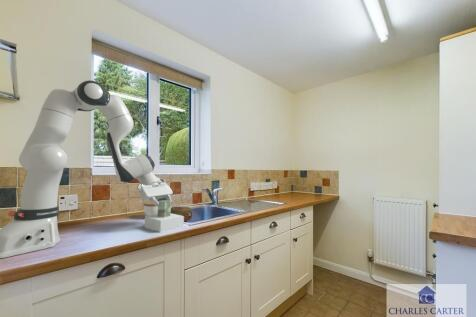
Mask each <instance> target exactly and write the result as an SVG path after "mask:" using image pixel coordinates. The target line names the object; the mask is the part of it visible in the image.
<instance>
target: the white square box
mask: <svg viewBox="0 0 476 317" xmlns="http://www.w3.org/2000/svg"><path fill="white" fill-rule="evenodd" d="M184 223H185V222H184V216H181V215H176V214H172V213H171V215H170V216H168V217H165V218H164V217H158V214H157V215H151V216H146V215H145V216H144V228H145V229H148V230H151V231H154V232H157V231H158V233H163V231H165V232H168V231H167V230H169V231H172V230H171V229H173V230H176V228H177V229H180V227H181V228H184V227H185V226H184Z"/></svg>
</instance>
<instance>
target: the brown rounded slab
mask: <svg viewBox="0 0 476 317" xmlns="http://www.w3.org/2000/svg"><path fill="white" fill-rule="evenodd" d="M171 213H172V214H176V215H181V216H184V223H186V222H189V221H191V220H192V219H193V217H194V210H193V209H192V208H191V207H189V206H179V205H177V206H171Z"/></svg>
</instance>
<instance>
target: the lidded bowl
mask: <svg viewBox="0 0 476 317" xmlns="http://www.w3.org/2000/svg"><path fill="white" fill-rule="evenodd" d="M143 212H144V215H145V216H151V215H157V214H158V206H156V205H155V204H154V203H153V202H151V201H150V200H149V201H144V202H143Z"/></svg>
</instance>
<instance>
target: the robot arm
mask: <svg viewBox="0 0 476 317" xmlns="http://www.w3.org/2000/svg"><path fill="white" fill-rule="evenodd" d="M94 110H98V111H100V113H102V115H104V117H105V120H106V121H107V124H108V132H107V133H106V141H107V144H108V149H109V151H110V152H109V153H110V154H111V159H112V162H113V165H114V171H115V176H116V177H117V179H118V180H119V181H120V182H122V183H126V184H127V183H131V182H132V181H134V180H135V179H136V180H137V181H138V182H139V184H138V185H137V187H136V188H137V190H138V194H139V196H140V197H141V199H142V201H144V202H150V201H151V202H153V203H154V204H155V205H156V206H158V205H160V202H159V201H160V200H159V199H165V200H169V201H171V203H172V202H173V200H172V199H171V198H172V197H171V196H173V193H174V192H173V190H172V188H171V187H170V186H169V185H168V184H167V183H166V180H165V179H163V178H160V177H158V176H156V175H155V174H154V173H153V172H154V169H155V161H154V160H153V159H152V157H151V156H150V155H148V154H145V153H144V154H141V155H138V156H136V157H134V158H131V159H129V160H127V161H124V160H123V156H122V153H121V150H120V143H121V142H122V140H123V139H124V138H126V137H127V136H128V135H130V133H131V132H132V130H133V129H134V120H133V117H132V114H131V113H130V111H129V108H128V107H127V106H126V104H125V103H124V101H123V100H122V99H121V98H120V96H118V95H117V94H110V92H109V91H108V90H107V89H106V88H105V87H104V86H103V85H102V84H100V83H99V82H97V81H95V80H91V79H90V80H84V81H82V82H80V83H79V85H78V86H77V87H76V88H74V90H72V91H68V90H67V89H63V88H55V89H53V90H51V91H50V92H49V94H48V95H47V97H46V98H45V100H44V102H43V104H42V107H41V109H40V112H39V115H38V117H37V120H36V123H35V126H34V128H33V129H32V132H31V133H30V135H29V136H28V139H27V141H26V142H25V145H24V147H23V149H22V150H21V153H20V155H19V157H18V162H19V164H20V166H21V167H22V168H23V169H24V170H26V176H25V179H24V183H23V186H22V188H21V199H20V208H19V209H18V210H16V211H15V210H9V211H8V212H7V216H9V217H13V220H12V221H10V222H8V223H7V224H5V225H4V226H3V227H1V228H0V259H3V258H4V259H5V258H9V257H13V256H18V255H23V254H27V253H31V252H35V251H36V252H37V251H41V250H43V249H49V248H53V247H56V244H58V243H59V242H60V241H61V236H60V233H59V228H58V219H59V206H58V202H59V188H60V183H61V180H62V176H63V172H64V169H65V166H66V165H67V164H68V160H69V159H68V154H67V153H66V152H65V150H64V149H62V148H61V147H62V145H63V143H64V142H65V141H66V140H67V138H68V137H69V134H70V132H71V128H72V125H73V123H74V122H73V121H74V120H75V116H76V112H77V111H79V112H93V111H94Z"/></svg>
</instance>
